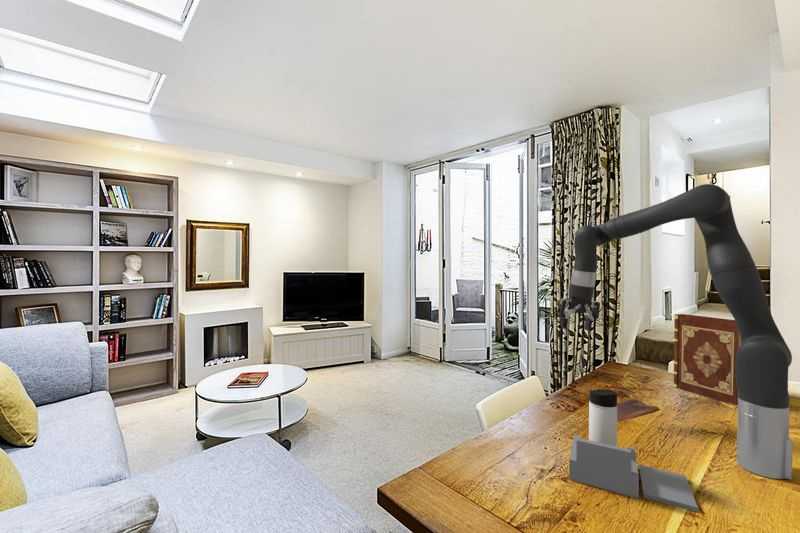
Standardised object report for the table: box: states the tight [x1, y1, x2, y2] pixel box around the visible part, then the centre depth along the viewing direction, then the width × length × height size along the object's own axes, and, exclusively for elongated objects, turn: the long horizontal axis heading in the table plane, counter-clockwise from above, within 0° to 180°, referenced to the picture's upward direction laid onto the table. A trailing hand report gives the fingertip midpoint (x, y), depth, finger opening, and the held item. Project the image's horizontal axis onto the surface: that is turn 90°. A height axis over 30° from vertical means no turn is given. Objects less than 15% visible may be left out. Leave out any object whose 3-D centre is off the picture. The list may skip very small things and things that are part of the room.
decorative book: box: [672, 313, 742, 406], centre depth 143 cm, size 22×8×30 cm, turn 25°
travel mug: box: [588, 388, 618, 447], centre depth 93 cm, size 6×7×20 cm
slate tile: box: [638, 464, 699, 513], centre depth 84 cm, size 10×13×1 cm
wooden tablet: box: [617, 398, 660, 423], centre depth 127 cm, size 26×2×10 cm
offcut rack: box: [568, 434, 640, 500], centre depth 90 cm, size 14×14×10 cm
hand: (575, 329), depth 127 cm, fingers open, 8 cm apart
